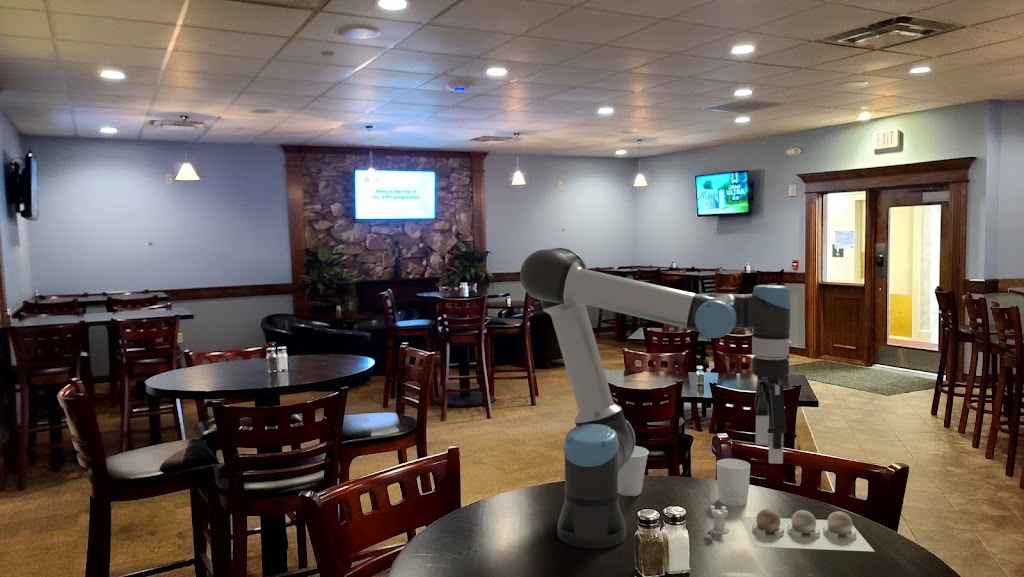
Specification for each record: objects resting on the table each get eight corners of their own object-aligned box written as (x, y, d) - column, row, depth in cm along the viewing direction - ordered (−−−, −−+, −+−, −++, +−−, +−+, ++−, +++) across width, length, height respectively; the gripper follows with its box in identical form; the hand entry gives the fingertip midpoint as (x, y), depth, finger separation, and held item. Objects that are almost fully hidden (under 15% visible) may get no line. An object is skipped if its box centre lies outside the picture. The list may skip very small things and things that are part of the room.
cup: (609, 498, 182) (608, 456, 181) (610, 485, 192) (610, 444, 191) (649, 500, 181) (649, 457, 180) (648, 486, 190) (648, 445, 190)
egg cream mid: (794, 537, 157) (794, 514, 156) (788, 528, 162) (789, 506, 161) (818, 538, 156) (819, 515, 156) (812, 528, 161) (812, 506, 160)
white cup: (745, 498, 182) (746, 458, 181) (753, 510, 174) (753, 469, 173) (713, 497, 182) (713, 458, 182) (719, 509, 175) (719, 468, 174)
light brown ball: (758, 536, 158) (759, 513, 157) (754, 526, 162) (754, 504, 162) (782, 537, 157) (783, 514, 156) (777, 527, 162) (777, 505, 161)
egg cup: (710, 536, 159) (710, 512, 159) (707, 528, 164) (707, 504, 163) (730, 537, 159) (730, 512, 158) (727, 528, 163) (727, 505, 163)
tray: (754, 549, 152) (754, 541, 152) (740, 519, 168) (740, 512, 168) (874, 554, 149) (875, 546, 149) (849, 523, 165) (849, 516, 165)
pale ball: (831, 538, 156) (831, 516, 155) (824, 529, 161) (824, 507, 160) (855, 539, 155) (856, 517, 155) (847, 530, 160) (848, 508, 160)
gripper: (804, 367, 144) (801, 472, 146) (775, 347, 169) (773, 437, 170) (764, 367, 145) (762, 471, 147) (741, 347, 170) (740, 436, 171)
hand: (768, 453), depth 158 cm, fingers open, 13 cm apart
